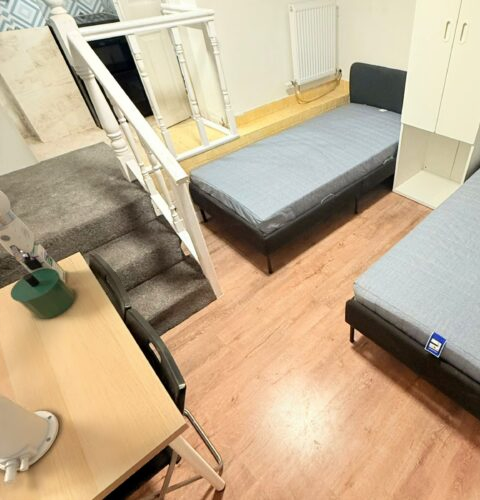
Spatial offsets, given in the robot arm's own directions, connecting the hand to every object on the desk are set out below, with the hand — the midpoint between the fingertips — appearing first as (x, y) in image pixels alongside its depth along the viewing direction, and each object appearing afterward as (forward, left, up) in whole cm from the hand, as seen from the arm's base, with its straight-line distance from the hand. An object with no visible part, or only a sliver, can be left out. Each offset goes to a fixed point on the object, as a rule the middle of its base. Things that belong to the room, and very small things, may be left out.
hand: (37, 261), depth 107 cm
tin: (-11, 0, -10) cm, 15 cm away
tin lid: (-11, 0, 0) cm, 11 cm away
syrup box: (0, 0, -10) cm, 10 cm away
